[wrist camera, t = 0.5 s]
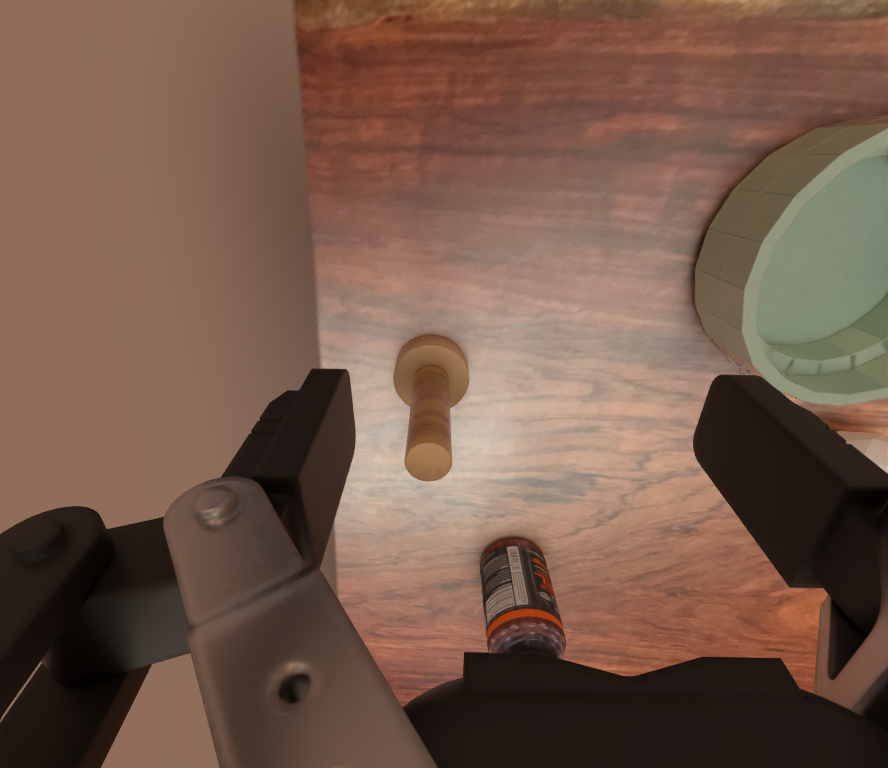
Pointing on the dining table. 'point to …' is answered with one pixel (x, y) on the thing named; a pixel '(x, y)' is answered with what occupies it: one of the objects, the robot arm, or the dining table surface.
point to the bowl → (806, 266)
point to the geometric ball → (869, 446)
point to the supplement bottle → (520, 601)
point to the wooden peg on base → (430, 401)
